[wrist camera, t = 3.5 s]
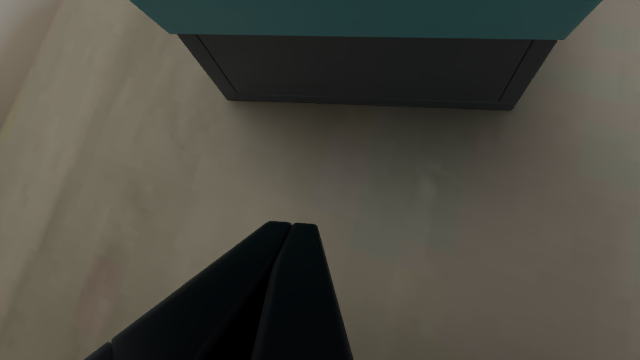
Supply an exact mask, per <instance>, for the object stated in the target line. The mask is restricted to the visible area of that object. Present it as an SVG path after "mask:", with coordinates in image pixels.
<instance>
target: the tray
mask: <svg viewBox="0 0 640 360" xmlns="http://www.w3.org/2000/svg"><path fill="white" fill-rule="evenodd" d="M177 35H178V36H179V38H180V39H181V40H182V42H183V43H184V44H185V46H186V47H187V48H188V49H189V51H190V52H191V53H192V55H193V56H194V57H195V59H196V60H197V61H198V62H199V64H200V65H201V66H202V68H203V69H204V70H205V72H206V73H207V74H208V75H209V77H210V78H211V79H212V81H213V82H214V83H215V85H216V86H217V87H218V88H219V90H220V91H221V92H222V94H223V95H224V96H225V98H226V99H227V100H247V101H275V102H302V103H329V104H357V105H384V106H412V107H439V108H466V109H494V110H512V109H513V108H514V106H515V105H516V103H517V102H518V100H519V99H520V97H521V95H522V94H523V92H524V91H525V89H526V88H527V86H528V85H529V83H530V82H531V80H532V79H533V77H534V76H535V74H536V73H537V71H538V70H539V68H540V67H541V65H542V63H543V62H544V60H545V59H546V57H547V56H548V54H549V53H550V51H551V50H552V48H553V47H554V45H555V44H556V42H557V41H558V40H538V39H474V38H410V37H347V36H283V35H219V34H177Z"/></svg>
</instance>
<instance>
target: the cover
mask: <svg viewBox="0 0 640 360" xmlns="http://www.w3.org/2000/svg"><path fill="white" fill-rule="evenodd" d="M130 1H131V2H132V3H133V4H134V5H136V6H137V7H138V8H139V9H140V10H142V11H143V12H144V13H145V14H146V15H148V16H149V17H150V18H151V19H152V20H154V21H155V22H156V23H157V24H158V25H160V26H161V27H162V28H163V29H164V30H166V31H167V32H168V33H170V34H219V35H283V36H347V37H410V38H474V39H538V40H563V39H565V38H566V37H567V36H568V35H569V34H570V33H571V32H572V31H573V30H574V29H575V28H576V27H577V26H578V25H579V24H580V23H581V22H582V21H583V20H584V18H585V17H586V16H587V15H588V14H589V13H590V12H591V11H592V10H593V9H594V8H595V7H596V6H597V5H598V4H599V3H600V2H601V1H602V0H130Z"/></svg>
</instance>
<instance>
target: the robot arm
mask: <svg viewBox="0 0 640 360" xmlns="http://www.w3.org/2000/svg"><path fill="white" fill-rule="evenodd" d="M84 360H353V356H352V353H351V349H350V345H349V341H348V338H347V334H346V330H345V327H344V323H343V319H342V316H341V312H340V308H339V304H338V301H337V297H336V293H335V290H334V286H333V282H332V279H331V275H330V271H329V268H328V264H327V260H326V256H325V253H324V249H323V245H322V242H321V238H320V234H319V231H318V227H317V226H316V225H315V224H306V223H295V224H293V225H292V224H291V223H289V222H279V221H269V222H267V223H265V224H264V225H263V226H261V227H260V228H259V229H257V230H256V231H255V232H253V233H252V234H251V235H249V236H248V237H247V238H245V239H244V240H243V241H241V242H240V243H239V244H237V245H236V246H235V247H233V248H232V249H231V250H229V251H228V252H227V253H225V254H224V255H223V256H221V257H220V258H219V259H217V260H216V261H215V262H213V263H212V264H211V265H209V266H208V267H207V268H205V269H204V270H203V271H201V272H200V273H199V274H197V275H196V276H195V277H193V278H192V279H191V280H189V281H188V282H187V283H185V284H184V285H183V286H181V287H180V288H179V289H177V290H176V291H175V292H173V293H172V294H171V295H170V296H168V297H167V298H166V299H164V300H163V301H162V302H160V303H159V304H158V305H156V306H155V307H154V308H152V309H151V310H150V311H148V312H147V313H146V314H144V315H143V316H142V317H140V318H139V319H138V320H136V321H135V322H134V323H132V324H131V325H130V326H128V327H127V328H126V329H124V330H123V331H122V332H120V333H119V334H118V335H116V336H115V337H114V338H113V339H112V344H111V343H110V342H107V343H105V344H104V345H103V346H101V347H100V348H99V349H97V350H96V351H95V352H93V353H92V354H91V355H89V356H88V357H87V358H85V359H84Z"/></svg>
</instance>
